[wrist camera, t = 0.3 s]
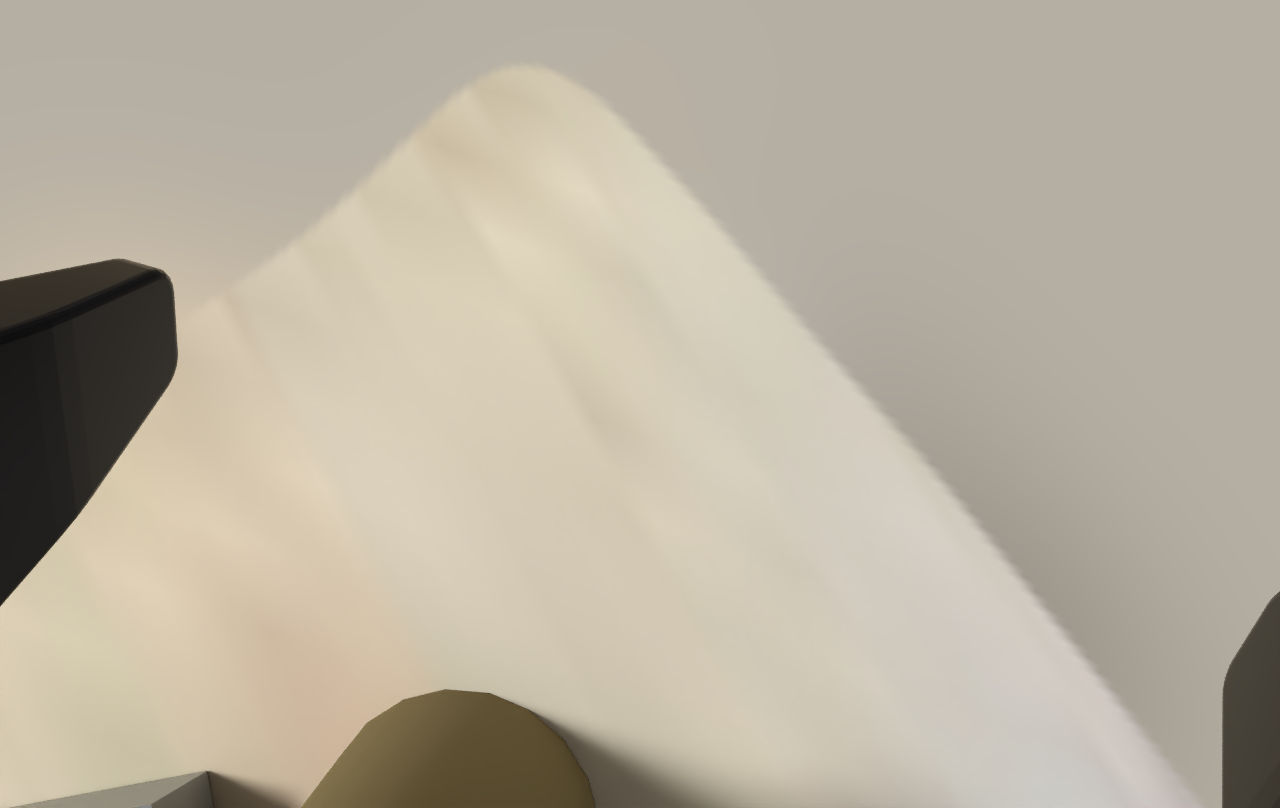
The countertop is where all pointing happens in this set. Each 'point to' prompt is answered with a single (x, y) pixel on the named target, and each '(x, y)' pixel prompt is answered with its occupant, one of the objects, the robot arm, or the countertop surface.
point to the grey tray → (143, 795)
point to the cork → (455, 759)
